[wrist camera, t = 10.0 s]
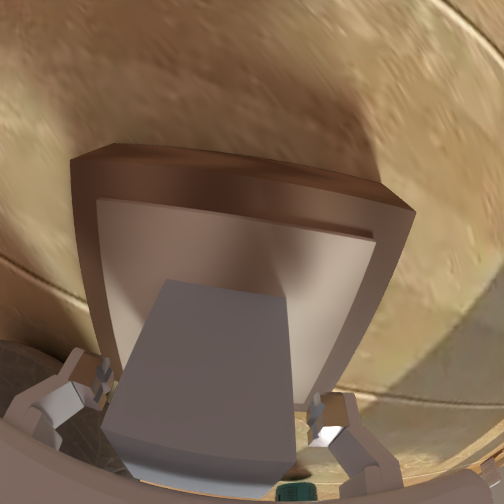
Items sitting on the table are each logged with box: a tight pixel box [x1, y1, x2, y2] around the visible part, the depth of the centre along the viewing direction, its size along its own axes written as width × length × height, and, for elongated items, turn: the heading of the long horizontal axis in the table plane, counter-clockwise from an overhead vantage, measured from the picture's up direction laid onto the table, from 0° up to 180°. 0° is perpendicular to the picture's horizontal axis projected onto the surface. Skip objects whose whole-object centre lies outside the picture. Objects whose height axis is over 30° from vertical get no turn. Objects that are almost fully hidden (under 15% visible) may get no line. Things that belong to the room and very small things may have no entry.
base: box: [70, 143, 416, 412], centre depth 15 cm, size 14×14×4 cm
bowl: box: [0, 340, 140, 481], centre depth 18 cm, size 21×21×15 cm
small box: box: [480, 457, 501, 487], centre depth 45 cm, size 8×6×10 cm
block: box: [100, 279, 296, 499], centre depth 10 cm, size 5×5×7 cm
